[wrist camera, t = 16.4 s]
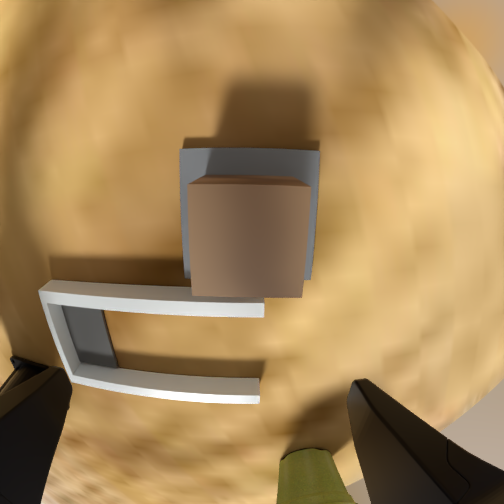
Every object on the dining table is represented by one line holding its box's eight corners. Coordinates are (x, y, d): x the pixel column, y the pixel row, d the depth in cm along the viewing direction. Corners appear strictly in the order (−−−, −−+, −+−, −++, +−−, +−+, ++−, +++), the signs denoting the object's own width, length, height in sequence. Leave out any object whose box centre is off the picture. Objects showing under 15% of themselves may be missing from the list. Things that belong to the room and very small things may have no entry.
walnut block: (206, 257, 18) (192, 295, 13) (205, 174, 16) (187, 184, 11) (288, 258, 18) (301, 297, 13) (292, 176, 16) (311, 186, 11)
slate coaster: (186, 274, 19) (184, 278, 18) (182, 148, 16) (179, 148, 16) (308, 275, 19) (310, 279, 18) (317, 151, 16) (319, 151, 16)
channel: (79, 368, 22) (71, 381, 20) (51, 279, 19) (37, 290, 17) (258, 386, 22) (259, 403, 20) (262, 288, 19) (264, 303, 17)
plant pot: (339, 429, 25) (357, 497, 17) (348, 462, 28) (362, 515, 20) (254, 451, 26) (256, 518, 18) (279, 480, 29) (283, 533, 21)
